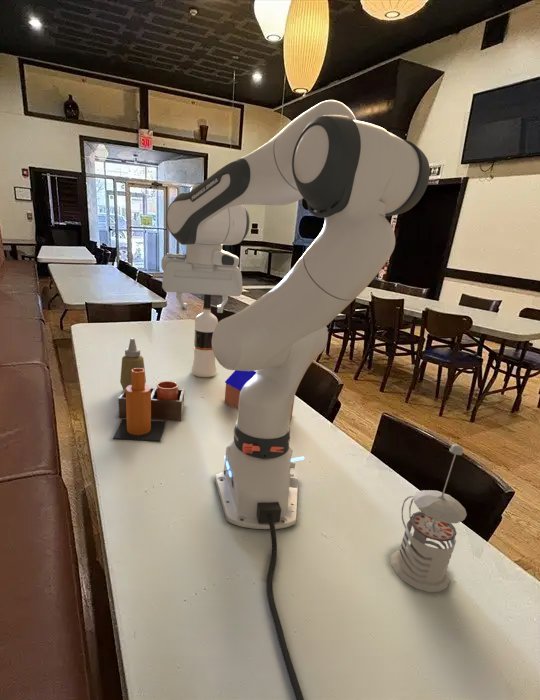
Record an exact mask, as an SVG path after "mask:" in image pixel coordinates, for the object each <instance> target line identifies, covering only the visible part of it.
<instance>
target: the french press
mask: <svg viewBox="0 0 540 700" xmlns="http://www.w3.org/2000/svg"><path fill="white" fill-rule="evenodd" d="M449 452H450V453H451V454H453V458H452V460H451V464H450V467H449V471H448V475H447V477H446V481H445V484H444V487H443V490H442V491H439V490H432V489H431V490H430V489H428V490H427V489H426V490H425V489H423V490H420V491H416V493H414V495H409V496H407V497H406V498H405V499H404V500H403V501H402V506H401V520H402V524H403V527H404V529H405V530H404V533H403V536H402V540H401V542H400V543H401V544H400V548H399V549H398V550H395V551H394V552H393V553H392V555H391V557H390V564H391V566H392V569H393V571H394V573H395V574H396V576H398V577H399V578H400V579H401V580H402V581H403V582H404V583H406V584H407V585H410V586H411V587H414V588H415V589H417V590H421V591H423V592H428V593H440V592H442V591H443V590H446V589H447V588H448V587H449V584H450V582H451V579H450V574H449V572H448V570H447V569H448V567H449V563H450V560H451V557H452V554H453V553H454V549H455V546H456V543H457V539H456V536H457V534H458V533H457V529H456V527H455V526H454V524H459V523H460V522H463V521H464V520H466V517H467V515H468V513H467V511H466V508H465V507H464V506H463V505H462V504H461V503H460V502H459V500H457V499H455V498H454V497H452V496H451V495H450V494H448V493H445V491H446V488H447V485H448V482H449V478H450V475H451V472H452V469H453V465H454V462H455V459H456V456H461V455H463V453H464V448H463V447H462V446H461V445H460V444H455V443H454V444H452V445H451V446H450V447H449ZM411 498H412V499H411ZM408 499H411V501H410V503H409V507H408V512H409V514H408V515H409V520H408V521H407V522H406V523H405V520H404V507H405V503H406V502H407V501H408ZM413 503H414V505H415V506H416V507H417V508H418V510H419V511H416V512H413V513H412V514H411V512H412V511H411V510H412V505H413ZM412 528H413V530H414V531H413V533H412V534H411V532H412ZM427 539H430V540H427ZM434 541H437V542H439V543H440V544H439V543H437V542H434ZM430 545H431V546H430ZM441 545H442V546H443V547H442V546H441ZM447 546H448V547H447Z"/></svg>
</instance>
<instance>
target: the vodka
mask: <svg viewBox="0 0 540 700" xmlns="http://www.w3.org/2000/svg"><path fill="white" fill-rule="evenodd" d="M211 309H212V295H209V294H203V308H202V312H201V313H199V314H198V315H196V316H195V318H194V340H193V342H194V344H193V360H192V366H191V373H192V374H193V375H194V376H196V377H199V378H212V377H214V376H215V375H216V374H217V365H216V357H215V355H214V353H213V349H212V335H213V332H214V329H215V327H216V325H217V324H218V322H219V319H218V318H217V316H216V315H215V314H213V312H212V311H211Z"/></svg>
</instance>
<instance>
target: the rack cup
mask: <svg viewBox="0 0 540 700" xmlns="http://www.w3.org/2000/svg"><path fill="white" fill-rule="evenodd" d="M156 388H157V399H160V400H178V389H179V384H178V382H176V381H172V380H164V381H163V380H162V381H159V382H158V383H156Z"/></svg>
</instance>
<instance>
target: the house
mask: <svg viewBox="0 0 540 700" xmlns="http://www.w3.org/2000/svg"><path fill="white" fill-rule="evenodd" d="M256 372H257V371H256V370H255V371H237V370H233V372H232V373H231V374H230V375H229V376H228V377H227V379H226V380H225V381H224V383H225V390H224V391H225V393H224V402H225V403H226V404H228V405H230V406H231V407H233V408H235V409H236V410H238V408H239V396H240V392H241V389H242V388H243V386H244V385H245V384H246V383H247V382H248V381H249V380H250V379H251V378H252V377H253V376H254V375H255V374H256ZM294 398H296V395H295V396H294ZM294 404H295V399H294V400H293V405H292V410H291V416H290V419H291V418H292V417H293V411H294Z"/></svg>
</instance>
